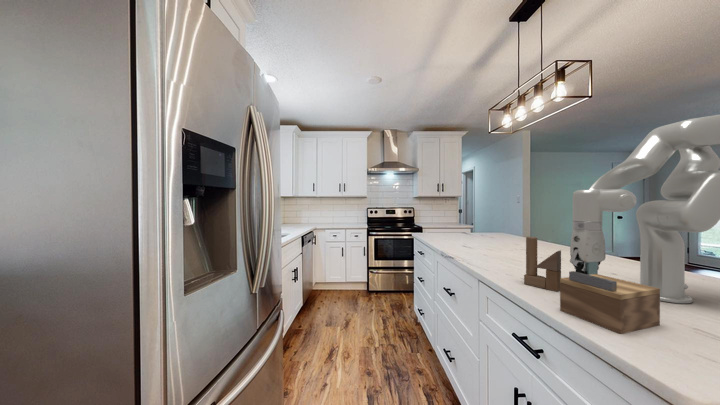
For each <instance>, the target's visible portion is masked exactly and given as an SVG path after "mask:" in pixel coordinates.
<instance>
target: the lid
mask: <svg viewBox="0 0 720 405" xmlns="http://www.w3.org/2000/svg"><path fill="white" fill-rule="evenodd" d="M575 271H576V270H572V271H569V275H568V276H569V277H567V276H566V277H561V278H560V283H564V284H567V285H571V286H574V287H577V288H581V289H584V290H588V291H591V292H595V293H598V294H601V295H605V296H608V297H612V298H615V299H619V300H624V299H630V298H635V297H641V296H647V295H653V294H659V293H660V289H659V288H655V287H651V286H646V285H642V284H640V283H637V282H633V281H629V280H624V279H621V278H616V277H611V276H606V275H603V274H600V273H599V274H592V275H587V274H583V273H579V272H575Z"/></svg>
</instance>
